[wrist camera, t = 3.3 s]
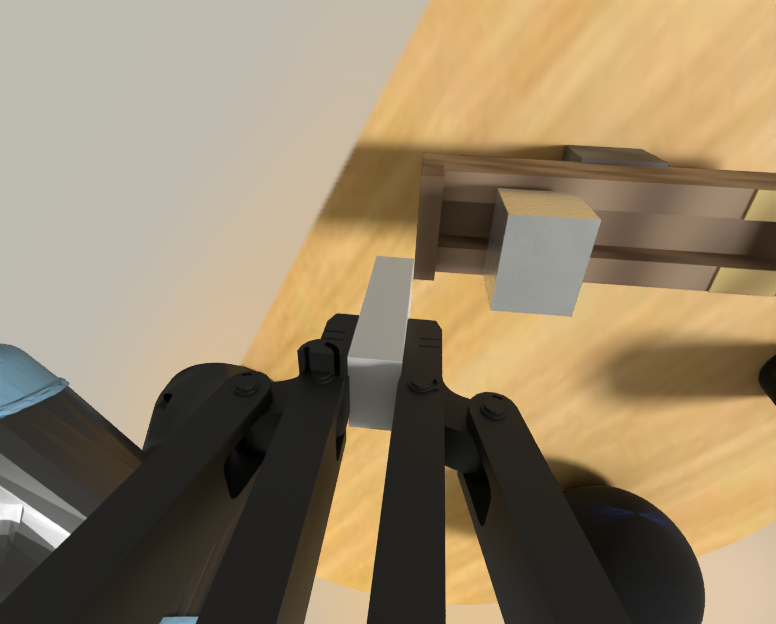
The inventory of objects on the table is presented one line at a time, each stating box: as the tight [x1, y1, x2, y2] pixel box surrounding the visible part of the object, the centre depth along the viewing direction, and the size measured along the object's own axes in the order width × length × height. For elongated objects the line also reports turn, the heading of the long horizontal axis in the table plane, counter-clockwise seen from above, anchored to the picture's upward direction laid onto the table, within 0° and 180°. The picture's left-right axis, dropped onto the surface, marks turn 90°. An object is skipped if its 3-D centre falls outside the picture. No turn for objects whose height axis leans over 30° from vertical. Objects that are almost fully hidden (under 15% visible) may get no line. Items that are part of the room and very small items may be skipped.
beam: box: [413, 145, 776, 297], centre depth 27 cm, size 24×6×9 cm, turn 88°
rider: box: [483, 188, 601, 317], centre depth 23 cm, size 4×5×7 cm
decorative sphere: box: [563, 485, 705, 624], centre depth 42 cm, size 15×15×15 cm
